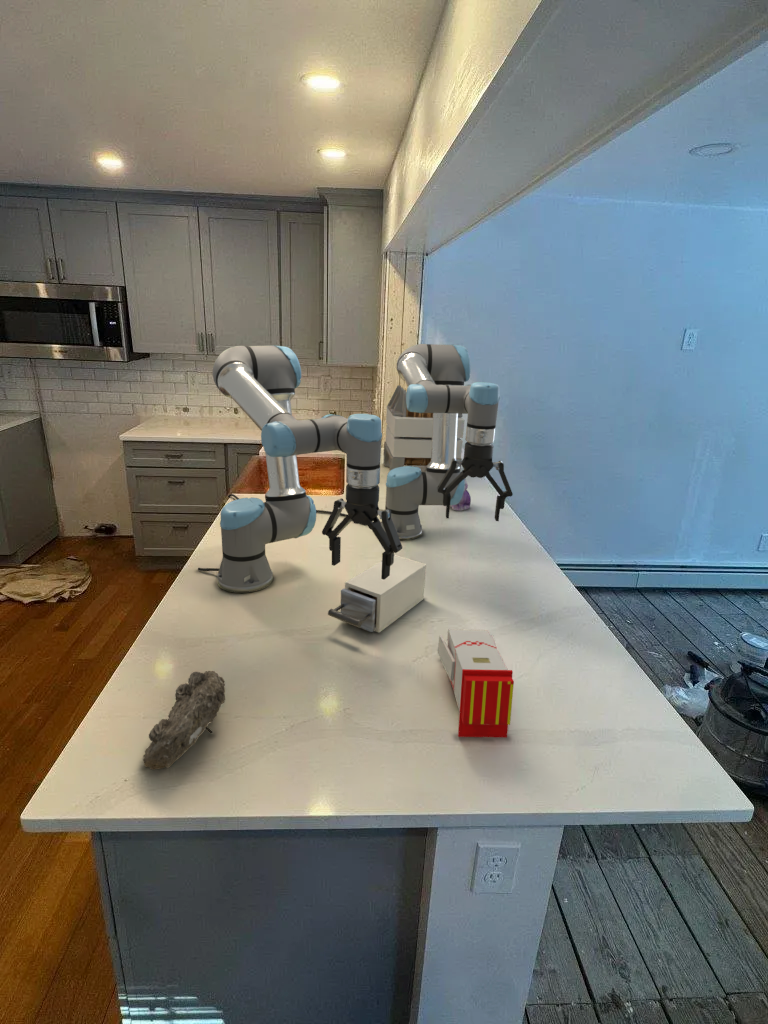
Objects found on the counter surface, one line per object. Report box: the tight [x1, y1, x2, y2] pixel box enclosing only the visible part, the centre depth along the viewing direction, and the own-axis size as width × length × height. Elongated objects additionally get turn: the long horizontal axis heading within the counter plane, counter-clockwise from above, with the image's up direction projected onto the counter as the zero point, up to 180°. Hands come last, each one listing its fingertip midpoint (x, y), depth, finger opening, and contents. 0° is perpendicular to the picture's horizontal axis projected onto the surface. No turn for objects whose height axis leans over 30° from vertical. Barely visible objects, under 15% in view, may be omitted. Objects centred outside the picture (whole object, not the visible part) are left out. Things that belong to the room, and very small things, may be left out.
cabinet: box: [344, 554, 427, 633], centre depth 148 cm, size 22×11×10 cm, turn 146°
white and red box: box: [437, 628, 515, 738], centre depth 117 cm, size 12×13×30 cm
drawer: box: [327, 588, 377, 633], centre depth 144 cm, size 26×10×8 cm, turn 146°
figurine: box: [450, 479, 472, 511], centre depth 227 cm, size 9×10×15 cm
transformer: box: [383, 384, 465, 472], centre depth 268 cm, size 34×33×41 cm
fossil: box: [142, 670, 226, 771], centre depth 103 cm, size 22×10×15 cm
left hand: (360, 570), depth 134 cm, fingers open, 13 cm apart
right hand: (471, 518), depth 157 cm, fingers open, 13 cm apart
